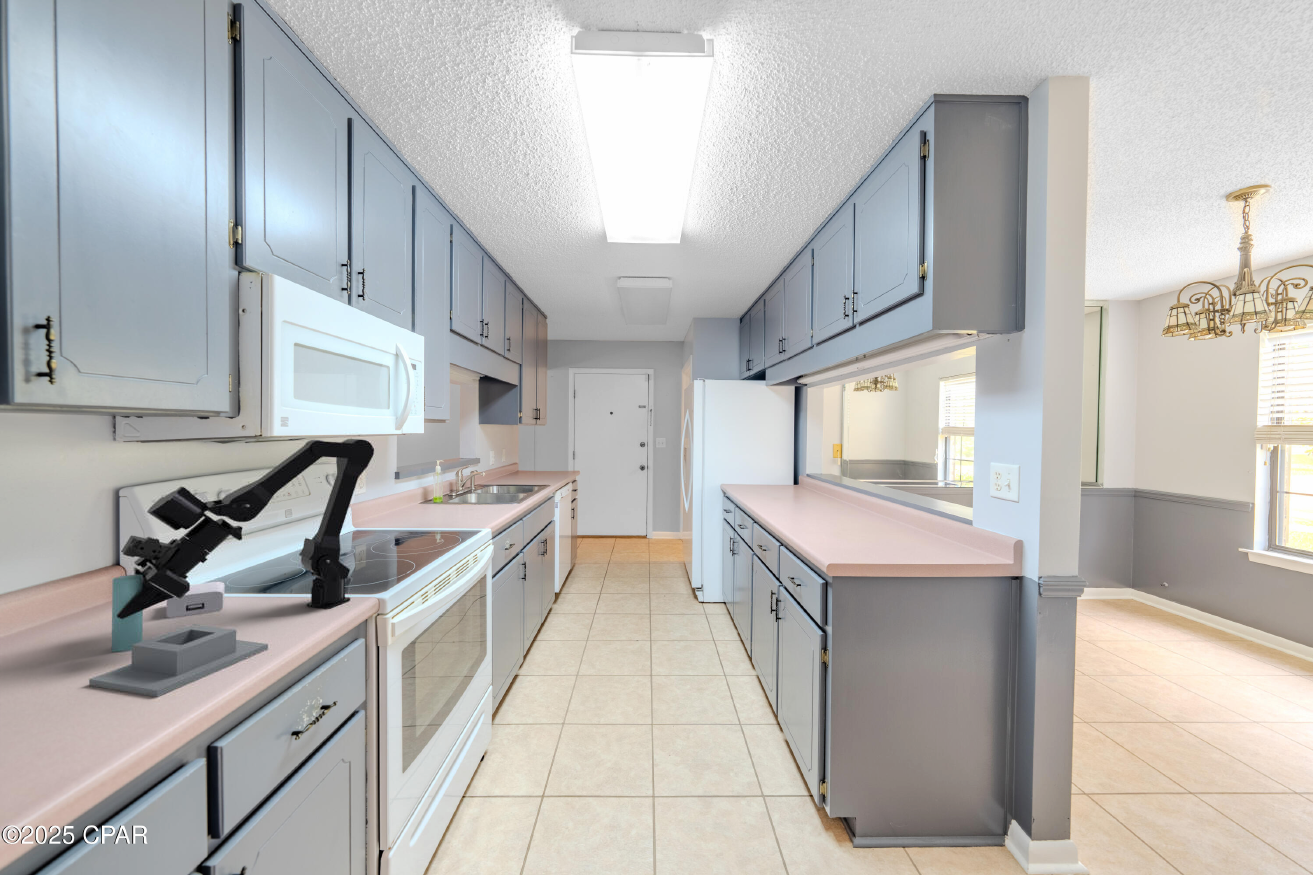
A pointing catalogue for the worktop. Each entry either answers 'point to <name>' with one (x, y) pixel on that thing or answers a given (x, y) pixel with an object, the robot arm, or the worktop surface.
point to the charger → (197, 600)
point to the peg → (131, 626)
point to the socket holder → (178, 660)
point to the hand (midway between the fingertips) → (117, 613)
